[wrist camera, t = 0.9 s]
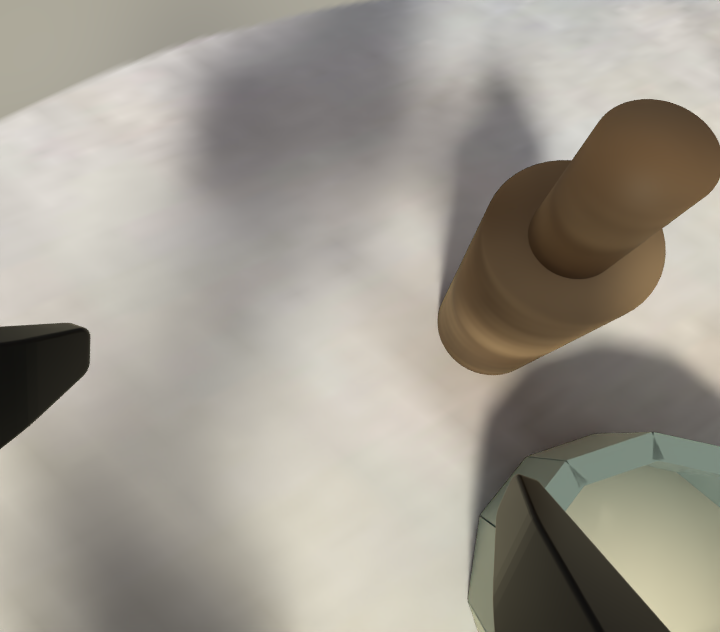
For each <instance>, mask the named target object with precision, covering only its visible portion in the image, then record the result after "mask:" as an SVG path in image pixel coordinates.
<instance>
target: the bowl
mask: <svg viewBox="0 0 720 632" xmlns="http://www.w3.org/2000/svg"><path fill="white" fill-rule="evenodd" d="M516 474H521V475H524V476H527V477H530V478H533V479H535V480H537V481H539V482H540V483H541V485H542V486H543V487H544V488H545V489H546V490H547V491H548V492H549V494H550V495H551V496H552V497H553V498H554V499H555V500H556V502H557V503H558V504H559V505H560V506H561V507H562V508H563V510H564V511H565V512H566V513H567V514H568V515H569V516H570V518H571V519H572V520H573V521H574V522H575V523H576V524H577V525H578V527H579V528H580V529H581V530H582V531H583V532H584V533H585V535H586V536H587V537H588V538H589V539H590V540H591V541H592V543H593V544H594V545H595V546H596V547H597V548H598V549H599V551H600V552H601V553H602V554H603V555H604V556H605V557H606V559H607V560H608V561H609V562H610V563H611V564H612V565H613V566H614V568H615V569H616V570H617V571H618V572H619V573H620V574H621V576H622V577H623V578H624V579H625V580H626V581H627V582H628V584H629V585H630V586H631V587H632V588H633V589H634V590H635V592H636V593H637V594H638V595H639V596H640V597H641V598H642V599H643V601H644V602H645V603H646V604H647V605H648V606H649V607H650V609H651V610H652V611H653V612H654V613H655V614H656V615H657V617H658V618H659V619H660V620H661V621H662V622H663V623H664V625H665V626H666V627H667V628H668V629H669V630H670V631H671V632H720V446H716V445H711V444H707V443H702V442H698V441H693V440H689V439H684V438H679V437H675V436H670V435H666V434H661V433H656V432H635V433H604V434H593V435H590V436H587V437H584V438H581V439H578V440H575V441H572V442H569V443H566V444H562V445H559V446H556V447H553V448H550V449H547V450H544V451H541V452H538V453H535V454H532V455H529V456H527V457H526V458H525V459H524V460H523V461H522V463H521V464H520V465H519V467H518V468H517V469H516V470H515V472H514V473H513V474H512V475H511V477H510V478H509V479H508V480H507V482H506V483H505V484H504V485H503V487H502V488H501V489H500V490H499V492H498V493H497V494H496V495H495V497H494V498H493V499H492V501H491V502H490V503H489V504H488V506H487V507H486V508H485V509H484V511H483V512H482V513H481V514H480V515H481V516H482V517H480V516H479V523H478V530H477V537H476V544H475V551H474V558H473V565H472V573H471V580H470V587H469V594H468V603H469V606H470V609H471V612H472V615H473V618H474V621H475V624H476V627H477V630H478V632H494V618H493V572H494V550H495V528H496V515H497V510H498V507H499V505H500V503H501V500H502V498H503V496H504V494H505V492H506V489H507V487H508V485H509V483H510V481H511V479H512V477H513V476H514V475H516Z"/></svg>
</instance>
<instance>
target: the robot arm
mask: <svg viewBox="0 0 720 632" xmlns="http://www.w3.org/2000/svg"><path fill="white" fill-rule="evenodd" d="M89 364H90V333H89V331H88V330H87V329H86V328H84V327H81V326H78V325H75V324H72V323H55V324H38V325H21V326H5V327H0V449H1V448H2V447H3V446H5V445H6V444H7V443H9V442H10V441H11V440H12V439H14V438H15V437H16V436H18V435H19V434H20V433H21V432H22V431H24V430H25V429H26V428H27V427H29V426H30V425H31V424H32V423H33V422H34V421H35V420H36V419H38V418H39V417H40V416H41V415H42V414H43V413H44V412H45V411H46V410H47V409H48V408H49V407H50V406H51V405H53V404H54V403H55V402H56V401H57V400H58V399H59V398H60V397H61V396H62V395H63V394H64V393H65V392H66V391H68V390H69V389H70V388H71V387H72V386H73V385H74V384H75V383H76V382H77V381H78V380H79V379H80V378H81V377H83V375H84V374H85V373H86V372H87V370H88V368H89ZM493 618H494V632H671V631H670V630H669V629H668V628H667V627H666V626H665V625H664V623H663V622H662V621H661V620H660V619H659V618H658V617H657V615H656V614H655V613H654V612H653V611H652V610H651V609H650V607H649V606H648V605H647V604H646V603H645V602H644V601H643V599H642V598H641V597H640V596H639V595H638V594H637V593H636V592H635V590H634V589H633V588H632V587H631V586H630V585H629V584H628V582H627V581H626V580H625V579H624V578H623V577H622V576H621V574H620V573H619V572H618V571H617V570H616V569H615V568H614V566H613V565H612V564H611V563H610V562H609V561H608V560H607V559H606V557H605V556H604V555H603V554H602V553H601V552H600V551H599V549H598V548H597V547H596V546H595V545H594V544H593V543H592V541H591V540H590V539H589V538H588V537H587V536H586V535H585V533H584V532H583V531H582V530H581V529H580V528H579V527H578V525H577V524H576V523H575V522H574V521H573V520H572V519H571V518H570V516H569V515H568V514H567V513H566V512H565V511H564V510H563V508H562V507H561V506H560V505H559V504H558V503H557V502H556V500H555V499H554V498H553V497H552V496H551V495H550V494H549V492H548V491H547V490H546V489H545V488H544V487H543V486H542V485H541V483H540V482H539V481H537V480H535V479H533V478H530V477H527V476H524V475H521V474H516V475H514V476H513V477H512V479H511V481H510V483H509V485H508V487H507V489H506V492H505V494H504V496H503V498H502V500H501V503H500V505H499V507H498V510H497V515H496V528H495V550H494V572H493Z"/></svg>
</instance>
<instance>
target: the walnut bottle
mask: <svg viewBox="0 0 720 632" xmlns="http://www.w3.org/2000/svg"><path fill="white" fill-rule="evenodd" d="M719 178H720V145H719V142H718V140H717V138H716V136H715V135H714V133H713V132H712V130H711V129H710V128H709V127H708V126H707V124H706V123H705V122H704V121H703V120H701V119H700V118H699V117H698V116H696V115H695V114H694V113H692V112H691V111H689V110H687V109H685V108H683V107H681V106H679V105H676V104H673V103H670V102H666V101H661V100H653V99H641V100H634V101H629V102H626V103H623V104H620V105H618V106H616V107H615V108H613V109H611V110H610V111H609V112H607V113H606V114H605V115H604V116H603V117H602V118H601V120H600V121H599V122H598V124H597V125H596V127H595V128H594V129H593V131H592V132H591V134H590V135H589V137H588V138H587V139H586V141H585V142H584V144H583V145H582V147H581V148H580V149H579V151H578V152H577V154H576V155H575V157H574V158H573V159H572V161H571V160H558V161H549V162H544V163H540V164H536V165H533V166H531V167H528V168H526V169H524V170H522V171H520V172H518V173H517V174H515V175H514V176H512V177H511V178H509V179H508V180H507V181H506V182H505V183H504V184H503V185H502V186H501V187H500V188H499V190H498V191H497V192H496V193H495V195H494V197H493V198H492V200H491V202H490V204H489V206H488V208H487V210H486V212H485V214H484V216H483V218H482V220H481V223H480V225H479V227H478V229H477V231H476V233H475V235H474V237H473V239H472V241H471V243H470V245H469V247H468V250H467V252H466V254H465V256H464V258H463V260H462V262H461V264H460V266H459V268H458V270H457V272H456V275H455V277H454V279H453V281H452V283H451V285H450V287H449V289H448V291H447V293H446V295H445V297H444V300H443V302H442V304H441V306H440V310H439V313H438V331H439V335H440V338H441V341H442V343H443V345H444V347H445V349H446V350H447V352H448V353H449V354H450V355H451V357H452V358H453V359H454V360H455V361H456V362H458V363H459V364H460V365H462V366H463V367H465V368H467V369H469V370H471V371H474V372H477V373H480V374H486V375H500V374H505V373H509V372H512V371H514V370H516V369H518V368H520V367H522V366H524V365H526V364H528V363H530V362H532V361H534V360H536V359H538V358H540V357H542V356H544V355H546V354H548V353H550V352H552V351H554V350H556V349H558V348H560V347H562V346H564V345H566V344H568V343H570V342H572V341H574V340H576V339H578V338H580V337H581V336H583V335H585V334H587V333H589V332H591V331H593V330H595V329H597V328H599V327H601V326H603V325H605V324H607V323H609V322H611V321H613V320H615V319H617V318H619V317H621V316H623V315H625V314H627V313H628V312H630V311H632V310H634V309H635V308H636V307H638V306H639V305H640V304H641V303H643V302H644V301H645V300H646V298H647V297H648V296H649V295H650V294H651V293H652V291H653V290H654V288H655V287H656V285H657V283H658V281H659V279H660V277H661V274H662V271H663V267H664V263H665V255H666V254H665V239H664V234H663V230H662V228H663V227H665V226H666V225H668V224H669V223H670V222H672V221H673V220H674V219H676V218H677V217H678V216H680V215H681V214H682V213H684V212H685V211H686V210H688V209H689V208H690V207H692V206H693V205H695V204H696V203H697V202H699V201H700V200H701V199H703V198H704V197H705V196H707V195H708V194H709V193H710V192H711V191H712V190H713V189H714V187H715V186H716V184H717V183H718V181H719Z"/></svg>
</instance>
